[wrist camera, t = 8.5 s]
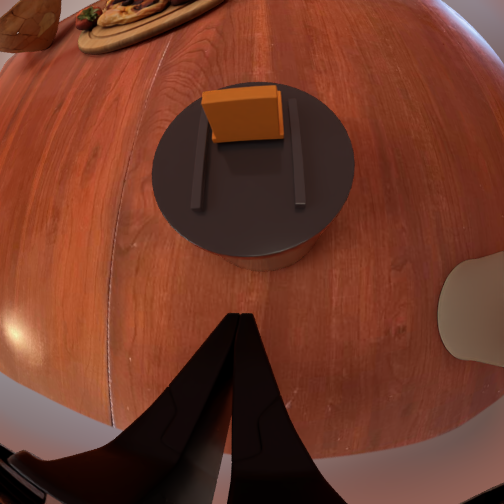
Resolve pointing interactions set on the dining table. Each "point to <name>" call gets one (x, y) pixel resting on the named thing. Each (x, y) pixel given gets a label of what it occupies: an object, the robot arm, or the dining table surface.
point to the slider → (244, 113)
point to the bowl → (29, 26)
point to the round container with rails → (255, 183)
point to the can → (474, 310)
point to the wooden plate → (133, 21)
